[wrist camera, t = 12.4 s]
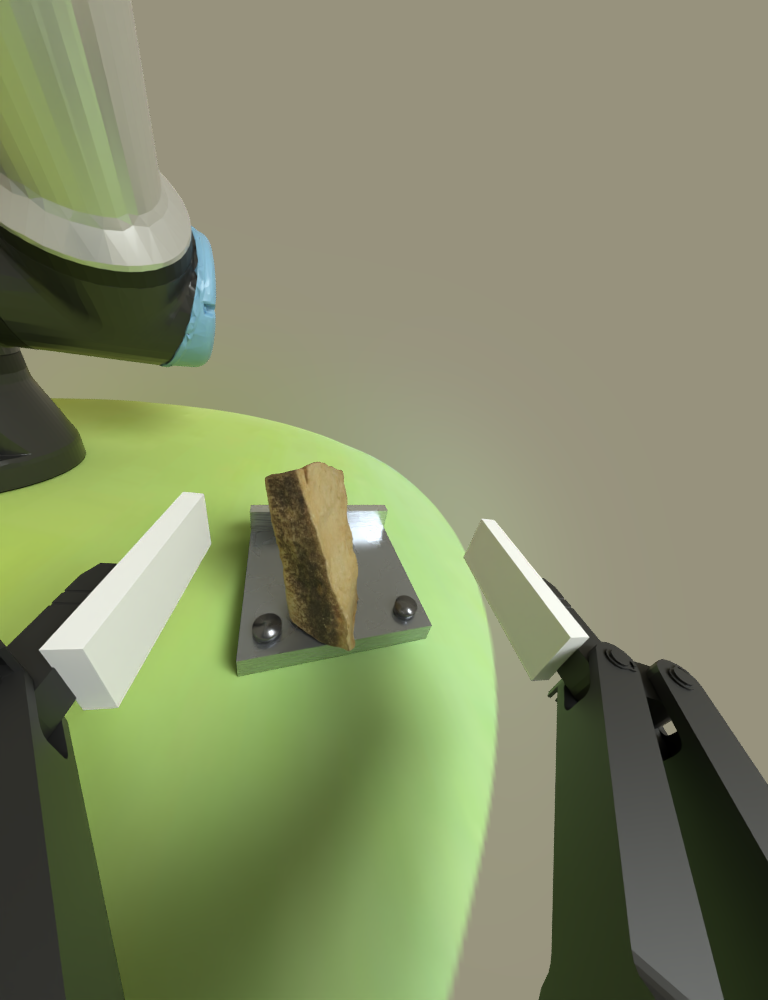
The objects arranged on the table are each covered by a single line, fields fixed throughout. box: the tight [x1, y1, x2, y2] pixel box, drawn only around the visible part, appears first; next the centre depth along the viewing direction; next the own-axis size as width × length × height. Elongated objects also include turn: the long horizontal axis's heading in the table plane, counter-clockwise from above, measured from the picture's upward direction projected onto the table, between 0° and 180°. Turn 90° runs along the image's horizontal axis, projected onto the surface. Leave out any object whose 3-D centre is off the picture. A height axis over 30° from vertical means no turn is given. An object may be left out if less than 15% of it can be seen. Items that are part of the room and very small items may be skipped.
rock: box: [265, 462, 359, 651], centre depth 20 cm, size 11×9×10 cm
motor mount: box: [236, 505, 432, 676], centre depth 21 cm, size 12×12×4 cm
